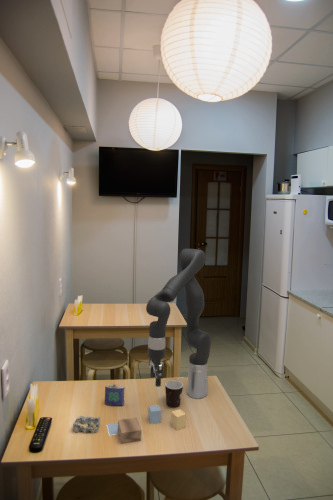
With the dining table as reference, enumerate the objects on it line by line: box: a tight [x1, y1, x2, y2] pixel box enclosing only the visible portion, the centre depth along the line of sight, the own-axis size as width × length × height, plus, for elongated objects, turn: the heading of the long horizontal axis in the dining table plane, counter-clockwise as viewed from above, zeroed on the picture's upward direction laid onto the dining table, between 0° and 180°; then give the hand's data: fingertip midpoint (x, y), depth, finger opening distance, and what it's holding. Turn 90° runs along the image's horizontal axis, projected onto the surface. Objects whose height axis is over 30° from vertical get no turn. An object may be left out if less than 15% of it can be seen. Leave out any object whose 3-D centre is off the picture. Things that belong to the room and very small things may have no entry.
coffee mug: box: [164, 379, 184, 409], centre depth 170 cm, size 12×9×10 cm
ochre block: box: [170, 408, 187, 431], centre depth 154 cm, size 4×4×6 cm
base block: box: [117, 417, 142, 445], centre depth 146 cm, size 8×8×5 cm
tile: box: [106, 422, 119, 436], centre depth 150 cm, size 8×8×1 cm
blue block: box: [147, 404, 162, 425], centre depth 157 cm, size 4×4×6 cm
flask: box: [104, 382, 125, 407], centre depth 168 cm, size 9×3×11 cm, turn 88°
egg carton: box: [72, 415, 101, 434], centre depth 150 cm, size 11×8×4 cm
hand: (155, 381), depth 156 cm, fingers open, 8 cm apart
